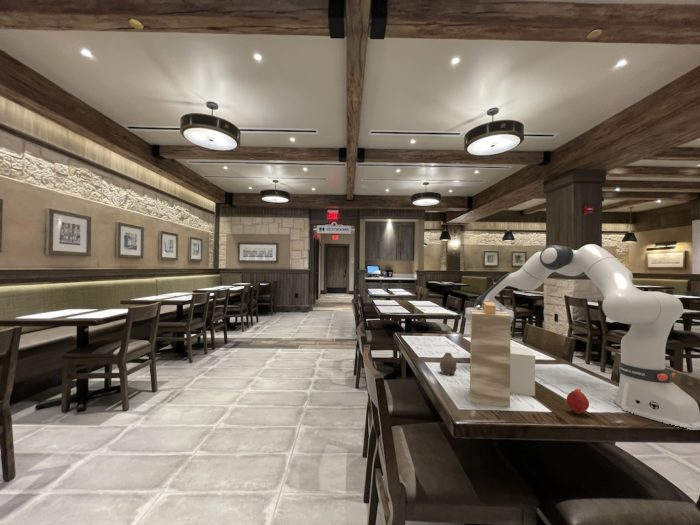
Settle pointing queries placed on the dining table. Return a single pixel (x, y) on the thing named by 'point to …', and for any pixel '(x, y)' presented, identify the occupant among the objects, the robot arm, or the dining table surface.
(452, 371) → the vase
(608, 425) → the dining table surface
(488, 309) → the orange bar
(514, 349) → the white box
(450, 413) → the dining table surface
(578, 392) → the onion
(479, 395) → the tall stand
